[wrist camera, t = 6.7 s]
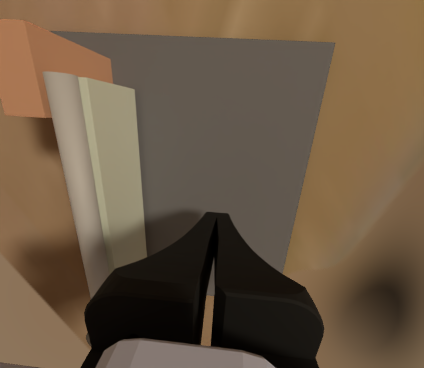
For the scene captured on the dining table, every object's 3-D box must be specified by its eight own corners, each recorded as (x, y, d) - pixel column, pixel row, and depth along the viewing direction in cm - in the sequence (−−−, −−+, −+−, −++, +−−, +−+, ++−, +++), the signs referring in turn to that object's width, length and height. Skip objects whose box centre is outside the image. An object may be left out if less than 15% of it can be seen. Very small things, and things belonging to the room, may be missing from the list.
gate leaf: (147, 260, 15) (111, 326, 11) (132, 259, 15) (89, 324, 11) (134, 89, 11) (65, 72, 6) (113, 88, 11) (31, 70, 7)
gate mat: (274, 298, 17) (275, 302, 16) (90, 278, 17) (87, 281, 17) (331, 45, 10) (335, 42, 10) (42, 33, 11) (35, 30, 11)
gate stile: (116, 115, 12) (45, 117, 7) (91, 114, 12) (5, 115, 8) (110, 59, 11) (23, 19, 6) (83, 57, 11) (-23, 18, 6)
